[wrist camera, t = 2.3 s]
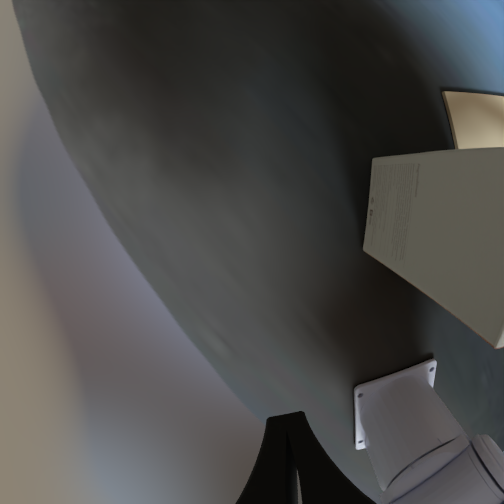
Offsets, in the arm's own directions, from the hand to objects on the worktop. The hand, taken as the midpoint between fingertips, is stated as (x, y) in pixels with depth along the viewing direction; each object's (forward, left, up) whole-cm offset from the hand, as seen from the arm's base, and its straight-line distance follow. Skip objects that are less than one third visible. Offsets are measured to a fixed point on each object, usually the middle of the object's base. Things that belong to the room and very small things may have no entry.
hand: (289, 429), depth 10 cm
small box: (+5, -11, -11) cm, 16 cm away
